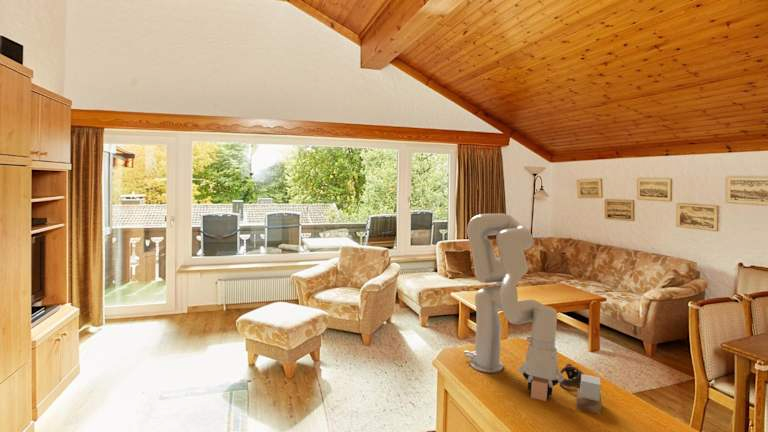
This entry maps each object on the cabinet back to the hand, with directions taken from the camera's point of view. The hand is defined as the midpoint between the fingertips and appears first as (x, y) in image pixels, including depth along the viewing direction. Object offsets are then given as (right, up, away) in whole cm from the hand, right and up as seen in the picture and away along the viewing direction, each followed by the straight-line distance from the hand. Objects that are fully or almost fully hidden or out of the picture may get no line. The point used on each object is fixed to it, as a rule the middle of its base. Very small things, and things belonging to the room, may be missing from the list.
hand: (539, 393), depth 143 cm
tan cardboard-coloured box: (+14, -2, -6) cm, 15 cm away
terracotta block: (0, -1, 0) cm, 1 cm away
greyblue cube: (+14, +2, -6) cm, 16 cm away
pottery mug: (+15, -1, +8) cm, 17 cm away
